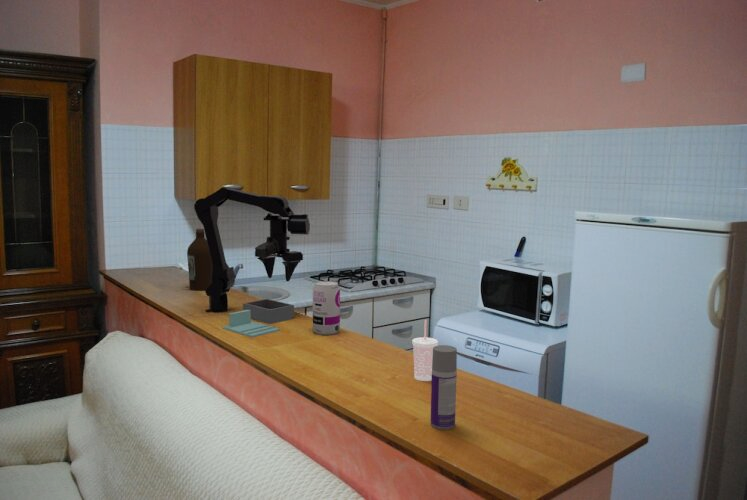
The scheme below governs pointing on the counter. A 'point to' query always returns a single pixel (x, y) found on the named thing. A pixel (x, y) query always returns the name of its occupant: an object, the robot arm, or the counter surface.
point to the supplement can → (326, 307)
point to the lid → (247, 325)
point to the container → (443, 387)
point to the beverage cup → (423, 356)
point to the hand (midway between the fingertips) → (278, 279)
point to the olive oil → (199, 263)
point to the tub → (269, 310)
